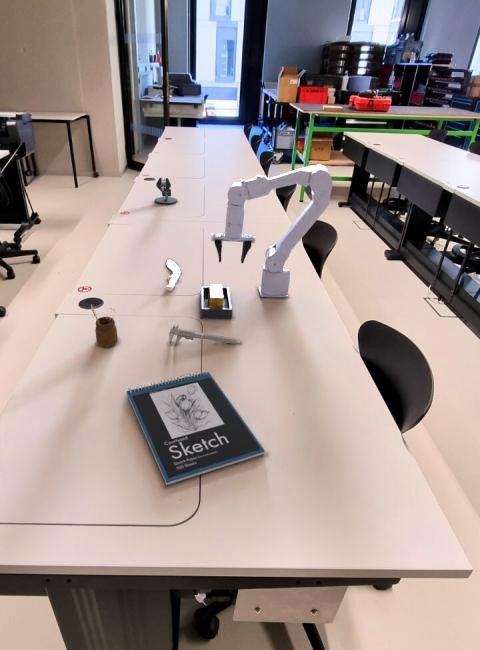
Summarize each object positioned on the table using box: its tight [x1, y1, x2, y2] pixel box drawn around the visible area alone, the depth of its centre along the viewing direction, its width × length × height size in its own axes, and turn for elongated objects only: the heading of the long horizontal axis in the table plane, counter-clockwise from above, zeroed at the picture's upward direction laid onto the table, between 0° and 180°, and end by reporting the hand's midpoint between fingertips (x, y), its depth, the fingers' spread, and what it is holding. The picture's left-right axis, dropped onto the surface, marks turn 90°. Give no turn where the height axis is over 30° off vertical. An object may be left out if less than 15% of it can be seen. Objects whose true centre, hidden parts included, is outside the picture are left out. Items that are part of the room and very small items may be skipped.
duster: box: [208, 284, 224, 308], centre depth 144 cm, size 5×11×5 cm, turn 1°
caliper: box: [168, 324, 241, 345], centre depth 125 cm, size 20×1×6 cm, turn 94°
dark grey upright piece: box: [154, 176, 178, 206], centre depth 242 cm, size 13×20×13 cm, turn 1°
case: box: [200, 285, 233, 320], centre depth 144 cm, size 10×17×3 cm, turn 2°
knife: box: [163, 258, 182, 292], centre depth 165 cm, size 30×2×8 cm
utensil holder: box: [90, 304, 119, 348], centre depth 122 cm, size 6×6×12 cm
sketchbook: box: [126, 370, 266, 486], centre depth 98 cm, size 22×30×2 cm
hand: (231, 261), depth 151 cm, fingers open, 7 cm apart
